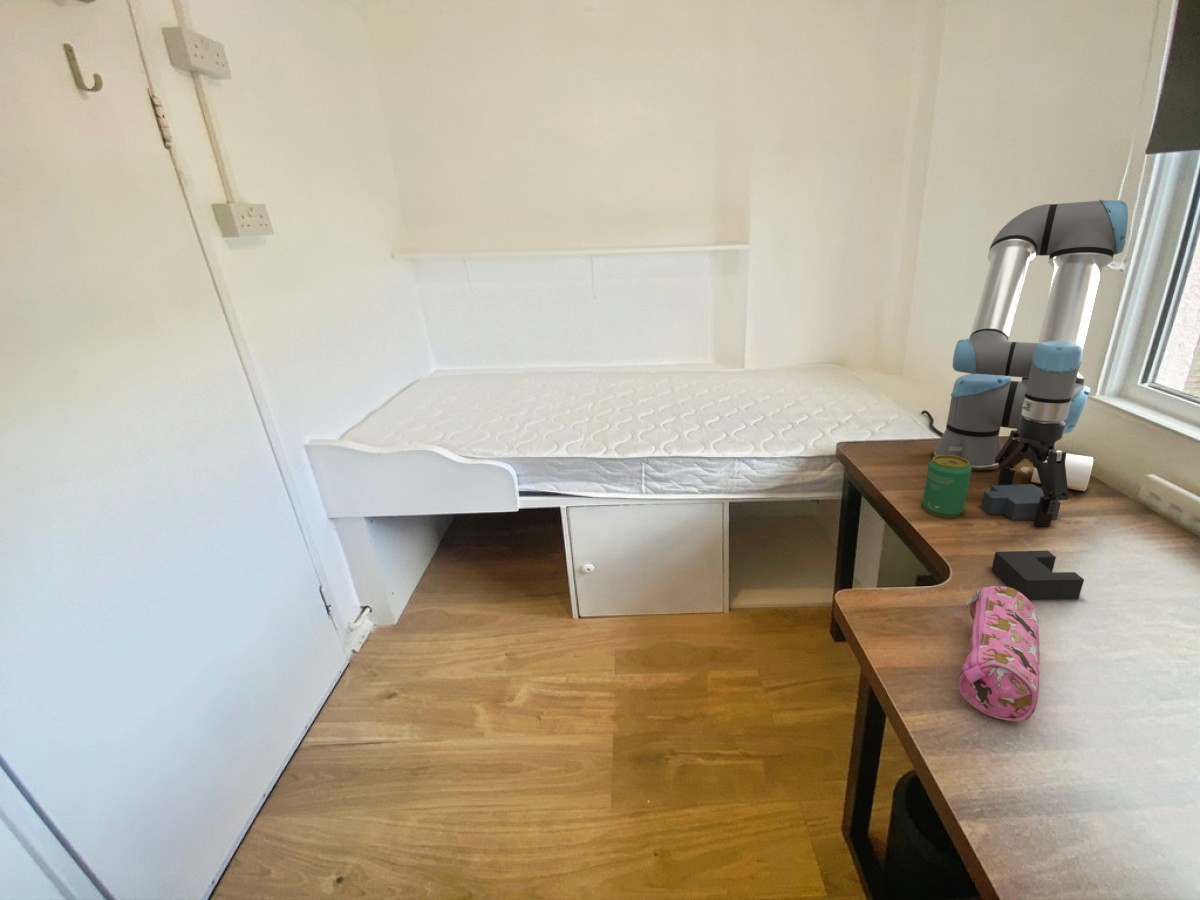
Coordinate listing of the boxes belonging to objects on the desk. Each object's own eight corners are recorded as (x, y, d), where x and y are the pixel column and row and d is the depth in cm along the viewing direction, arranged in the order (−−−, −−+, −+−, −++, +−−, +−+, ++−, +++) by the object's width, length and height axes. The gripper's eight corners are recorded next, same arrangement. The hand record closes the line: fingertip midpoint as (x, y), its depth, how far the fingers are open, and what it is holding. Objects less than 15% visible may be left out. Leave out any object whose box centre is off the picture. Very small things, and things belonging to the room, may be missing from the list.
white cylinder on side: (1084, 496, 125) (1093, 464, 122) (1029, 486, 131) (1036, 455, 128) (1085, 477, 133) (1094, 447, 130) (1034, 469, 139) (1040, 439, 136)
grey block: (973, 501, 126) (976, 485, 125) (1029, 499, 125) (1033, 483, 124) (996, 520, 118) (1000, 504, 116) (1056, 519, 117) (1061, 502, 115)
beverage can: (971, 513, 121) (981, 463, 117) (944, 521, 119) (953, 471, 115) (940, 498, 129) (948, 451, 124) (913, 506, 126) (921, 458, 122)
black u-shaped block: (991, 569, 102) (995, 551, 101) (1042, 569, 102) (1047, 550, 100) (1021, 600, 94) (1026, 580, 93) (1078, 599, 93) (1084, 579, 92)
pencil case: (961, 619, 91) (970, 574, 87) (1031, 638, 86) (1044, 591, 82) (950, 710, 75) (961, 658, 71) (1036, 740, 70) (1052, 686, 66)
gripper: (988, 401, 125) (971, 486, 133) (1066, 440, 102) (1040, 539, 110) (1023, 400, 125) (1004, 485, 132) (1109, 438, 101) (1081, 538, 109)
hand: (1020, 510), depth 121 cm, fingers open, 13 cm apart
